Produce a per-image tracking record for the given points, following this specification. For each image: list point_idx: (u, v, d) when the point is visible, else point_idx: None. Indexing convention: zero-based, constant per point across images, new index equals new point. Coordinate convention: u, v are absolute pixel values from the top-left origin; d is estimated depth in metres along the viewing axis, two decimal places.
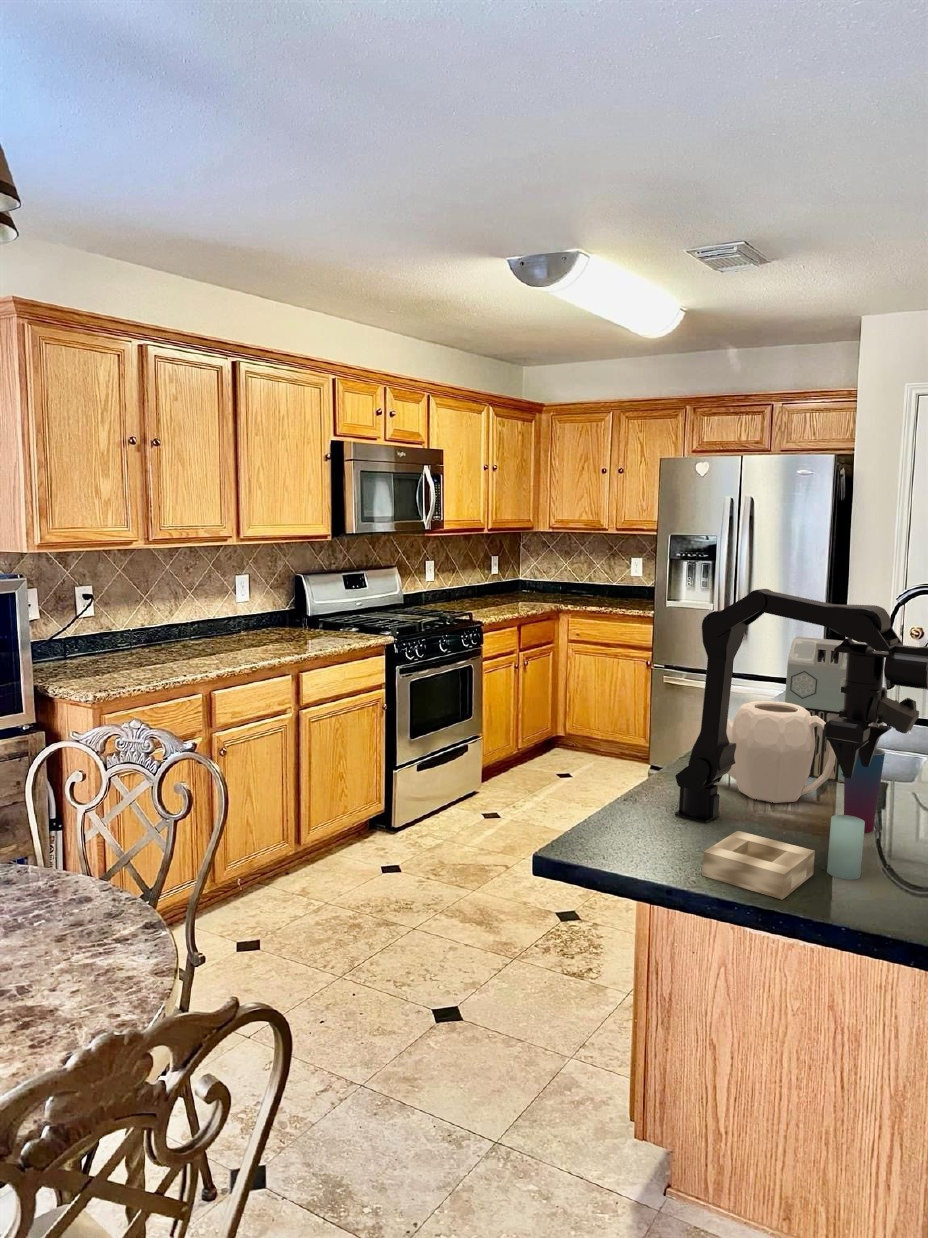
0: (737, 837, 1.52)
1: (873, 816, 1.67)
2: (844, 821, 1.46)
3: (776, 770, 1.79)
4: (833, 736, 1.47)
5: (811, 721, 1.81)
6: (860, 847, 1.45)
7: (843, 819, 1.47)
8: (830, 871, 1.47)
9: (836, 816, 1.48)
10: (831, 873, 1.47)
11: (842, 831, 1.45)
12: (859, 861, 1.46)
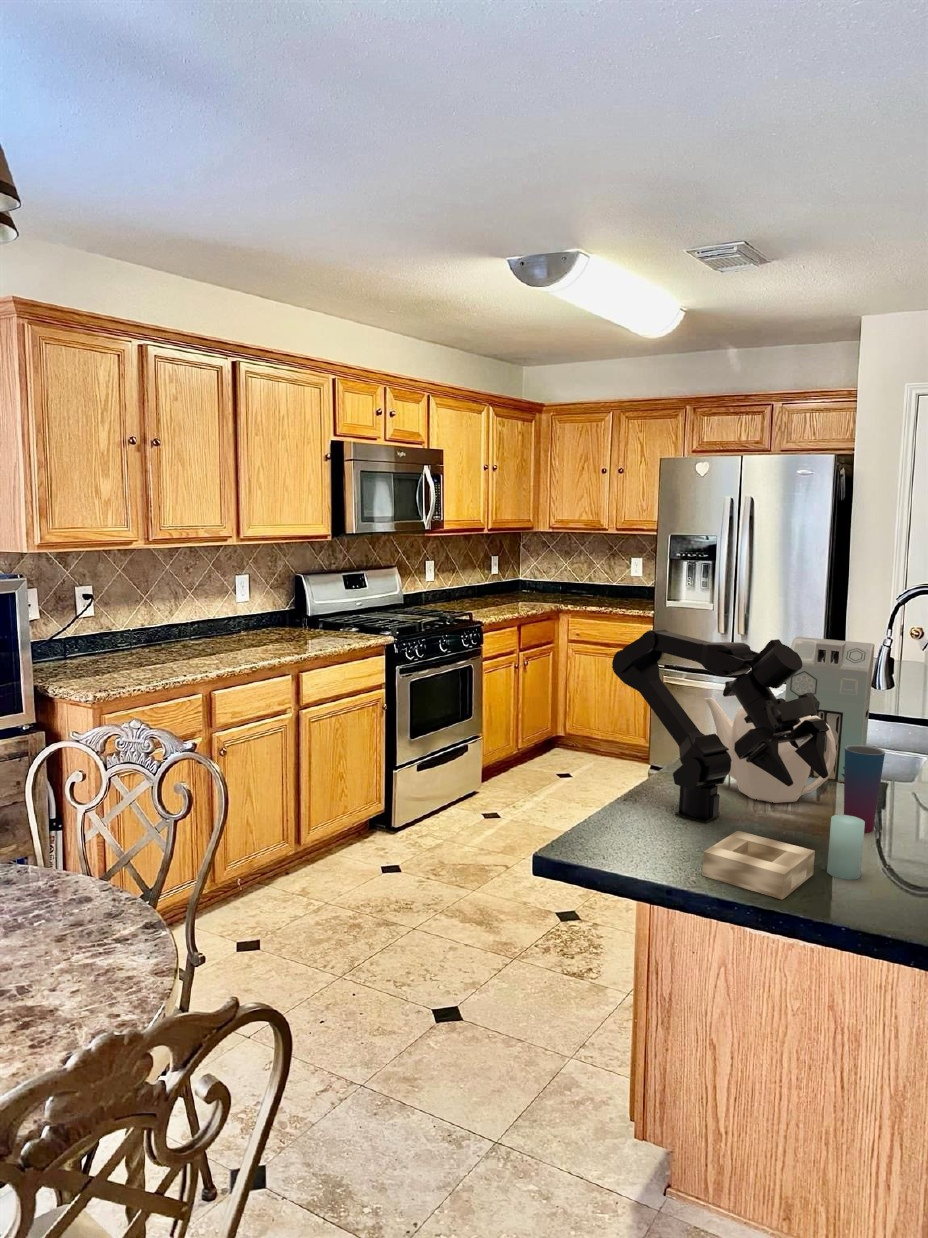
0: (737, 837, 1.52)
1: (873, 816, 1.67)
2: (844, 821, 1.46)
3: None
4: (743, 753, 1.52)
5: None
6: (860, 847, 1.45)
7: (843, 819, 1.47)
8: (830, 871, 1.47)
9: (836, 816, 1.48)
10: (831, 873, 1.47)
11: (842, 831, 1.45)
12: (859, 861, 1.46)
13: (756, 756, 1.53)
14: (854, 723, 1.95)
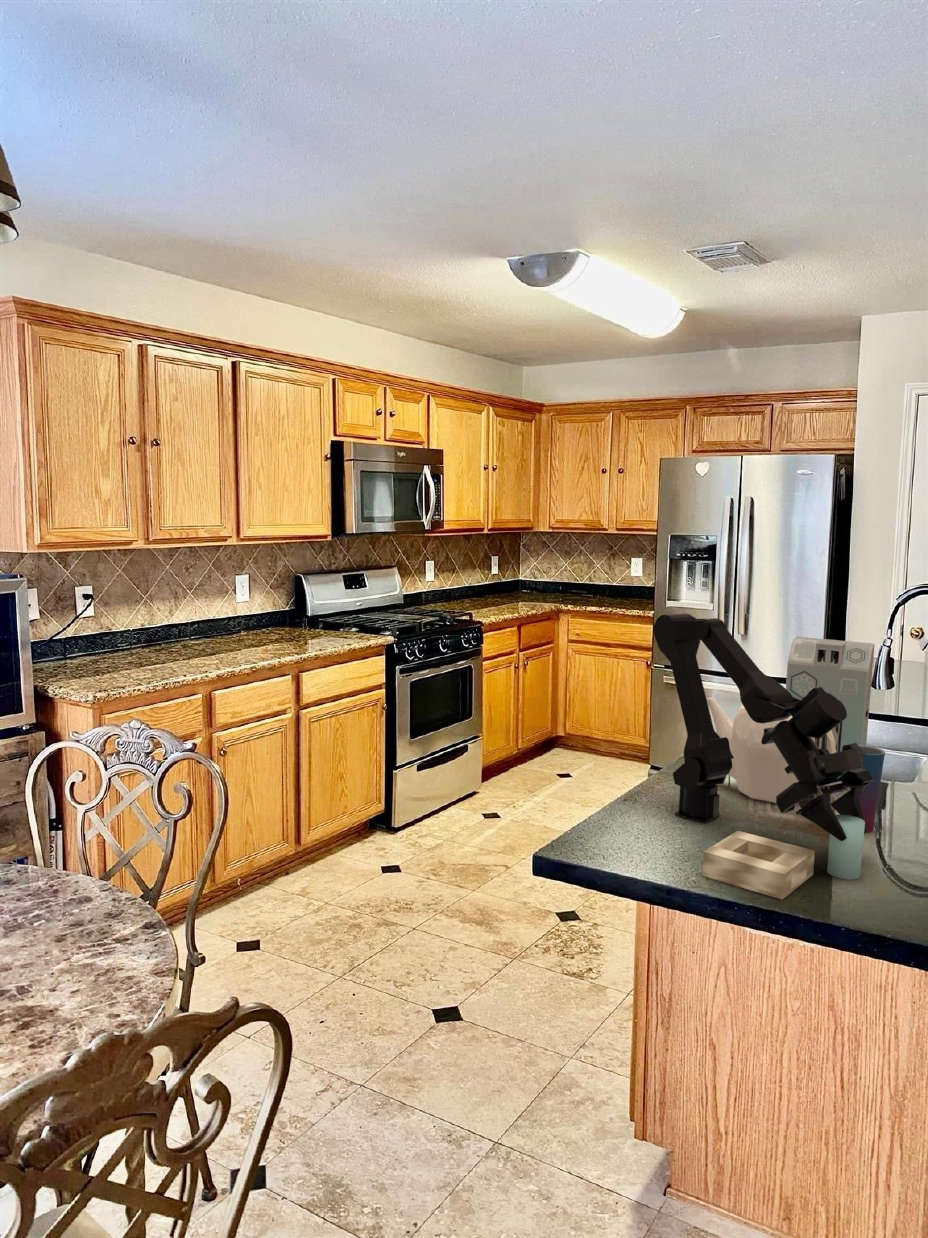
0: (737, 837, 1.52)
1: (873, 816, 1.67)
2: (844, 821, 1.46)
3: (776, 770, 1.79)
4: (785, 807, 1.46)
5: None
6: (860, 847, 1.45)
7: (844, 819, 1.47)
8: (830, 871, 1.47)
9: (836, 816, 1.48)
10: (831, 873, 1.47)
11: None
12: (860, 861, 1.46)
13: (807, 809, 1.47)
14: (854, 723, 1.95)
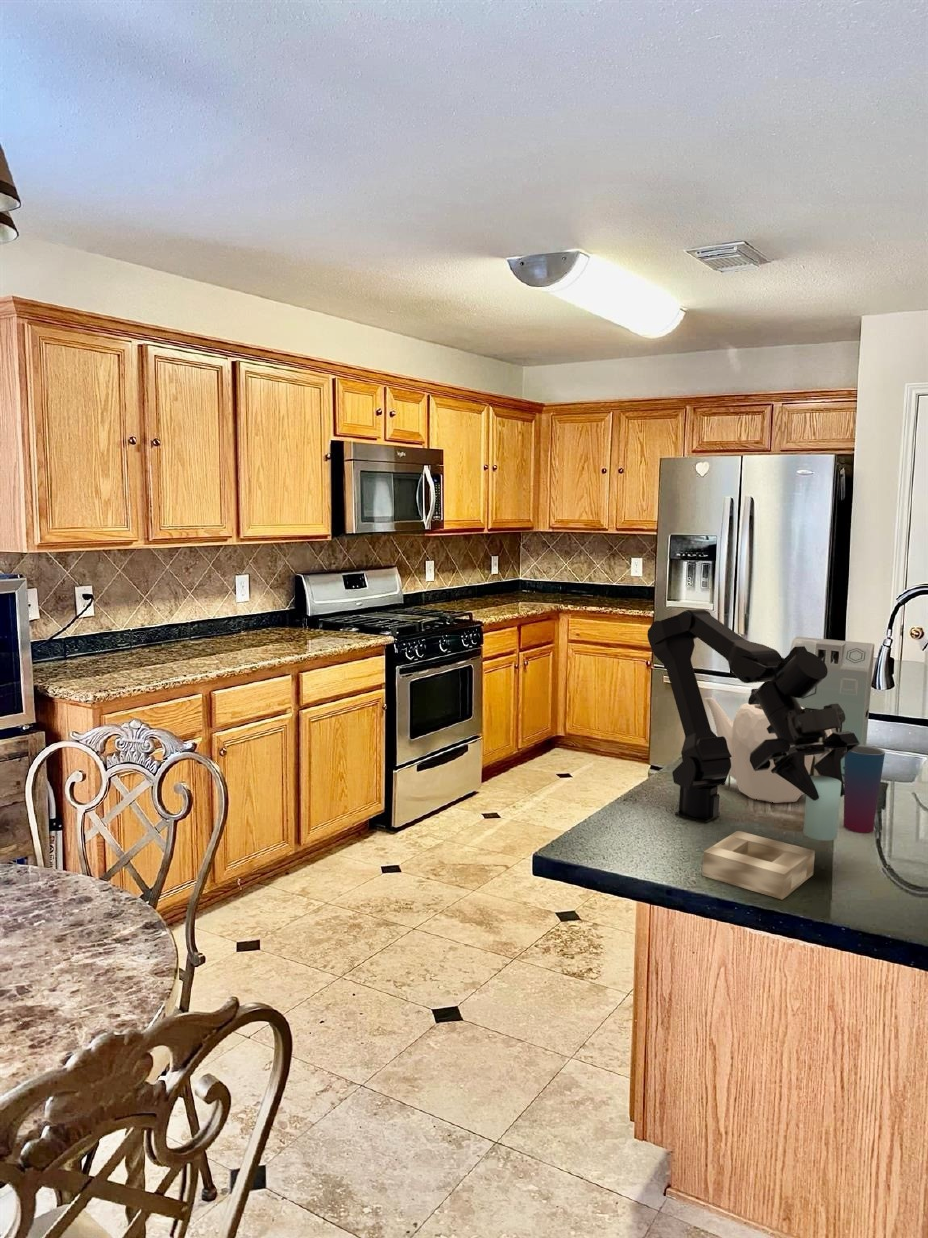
0: (737, 837, 1.52)
1: (873, 816, 1.67)
2: (820, 781, 1.44)
3: None
4: (757, 764, 1.45)
5: None
6: (834, 808, 1.43)
7: (820, 779, 1.45)
8: (805, 831, 1.46)
9: (814, 776, 1.46)
10: (805, 833, 1.45)
11: None
12: (834, 823, 1.43)
13: (781, 767, 1.46)
14: (854, 723, 1.95)
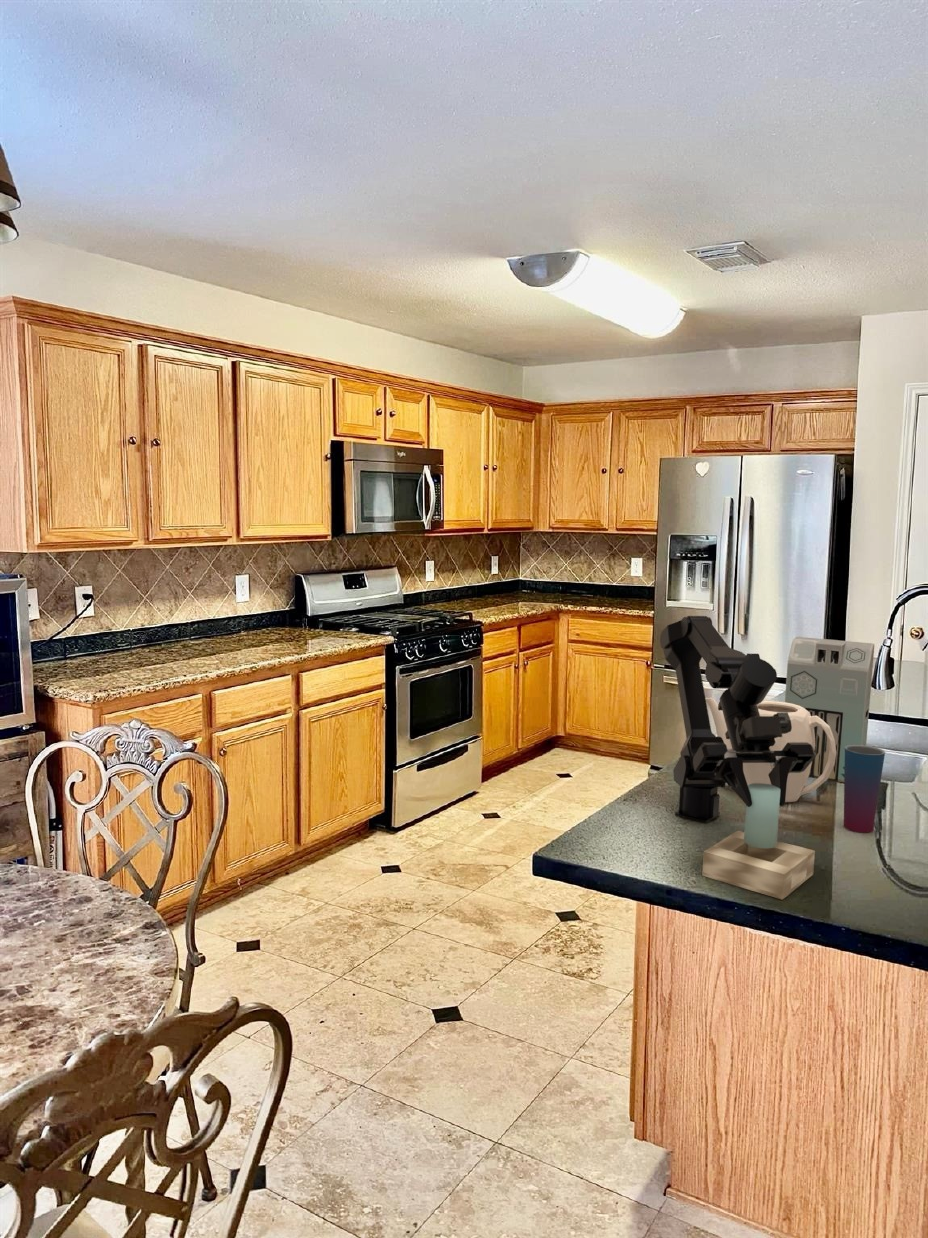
0: (737, 837, 1.52)
1: (873, 816, 1.67)
2: (758, 788, 1.45)
3: None
4: (696, 766, 1.48)
5: (811, 721, 1.81)
6: (769, 816, 1.43)
7: (760, 787, 1.45)
8: (744, 837, 1.46)
9: (757, 784, 1.47)
10: (744, 839, 1.46)
11: None
12: (769, 831, 1.43)
13: (722, 771, 1.48)
14: (854, 723, 1.95)
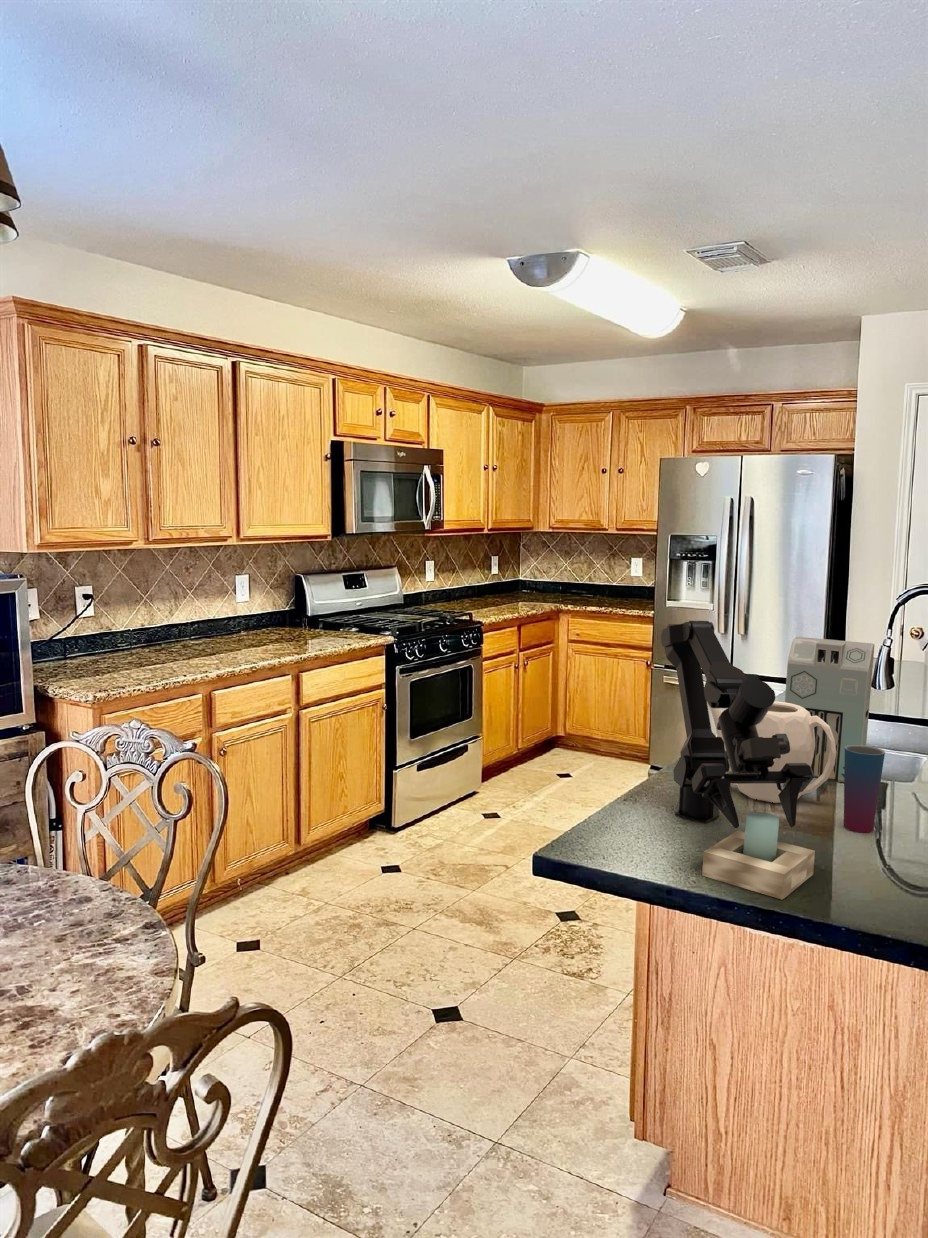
0: (737, 837, 1.52)
1: (873, 816, 1.67)
2: (757, 817, 1.45)
3: (776, 770, 1.79)
4: (695, 787, 1.49)
5: (811, 721, 1.81)
6: (767, 845, 1.43)
7: (759, 816, 1.46)
8: None
9: (756, 812, 1.47)
10: None
11: (749, 825, 1.44)
12: (768, 860, 1.44)
13: (710, 792, 1.48)
14: (854, 723, 1.95)
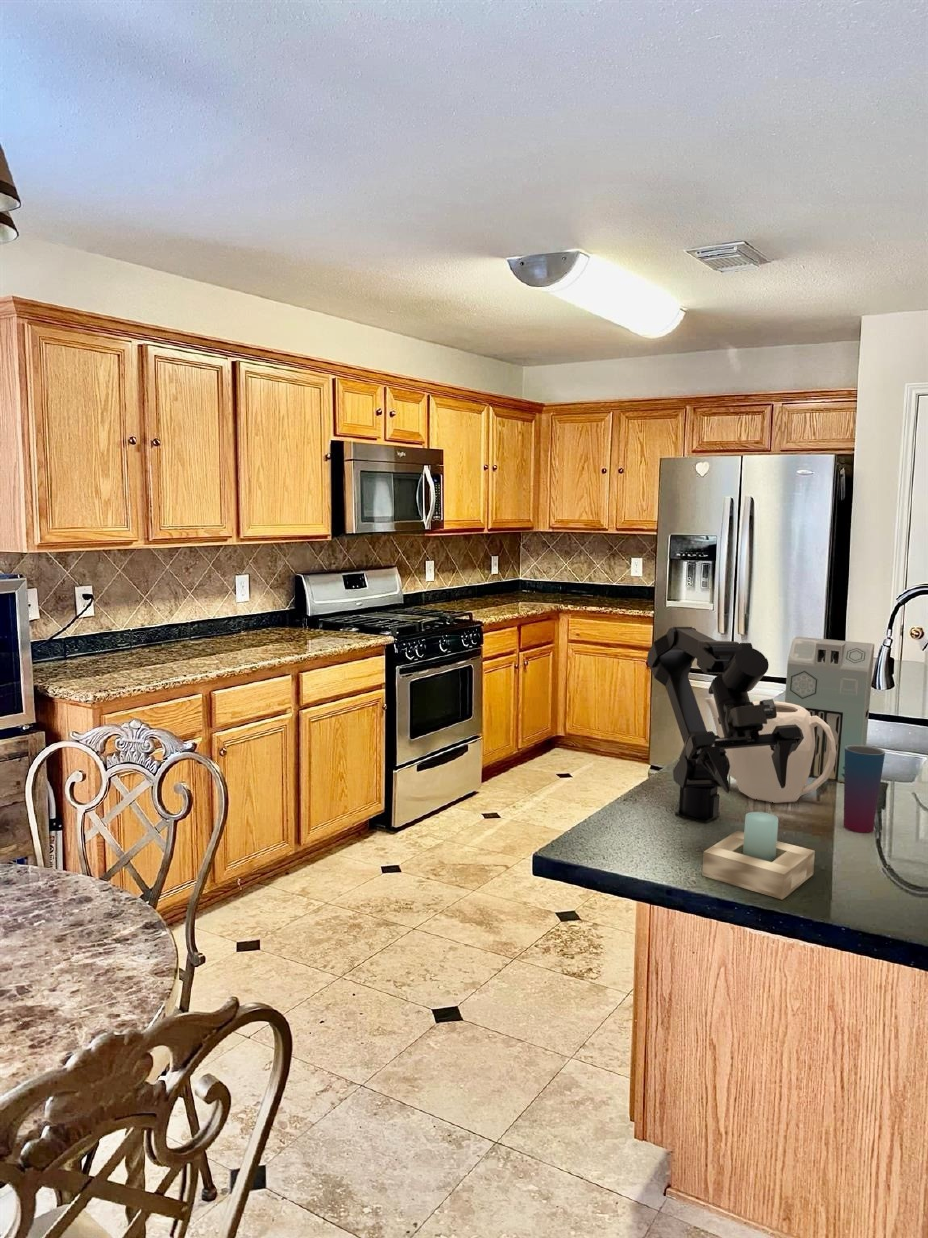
0: (737, 837, 1.52)
1: (873, 816, 1.67)
2: (756, 817, 1.45)
3: None
4: (688, 755, 1.55)
5: (811, 721, 1.81)
6: (767, 846, 1.43)
7: (758, 816, 1.46)
8: None
9: (755, 813, 1.47)
10: None
11: (748, 826, 1.44)
12: (768, 860, 1.44)
13: (702, 759, 1.54)
14: (854, 723, 1.95)
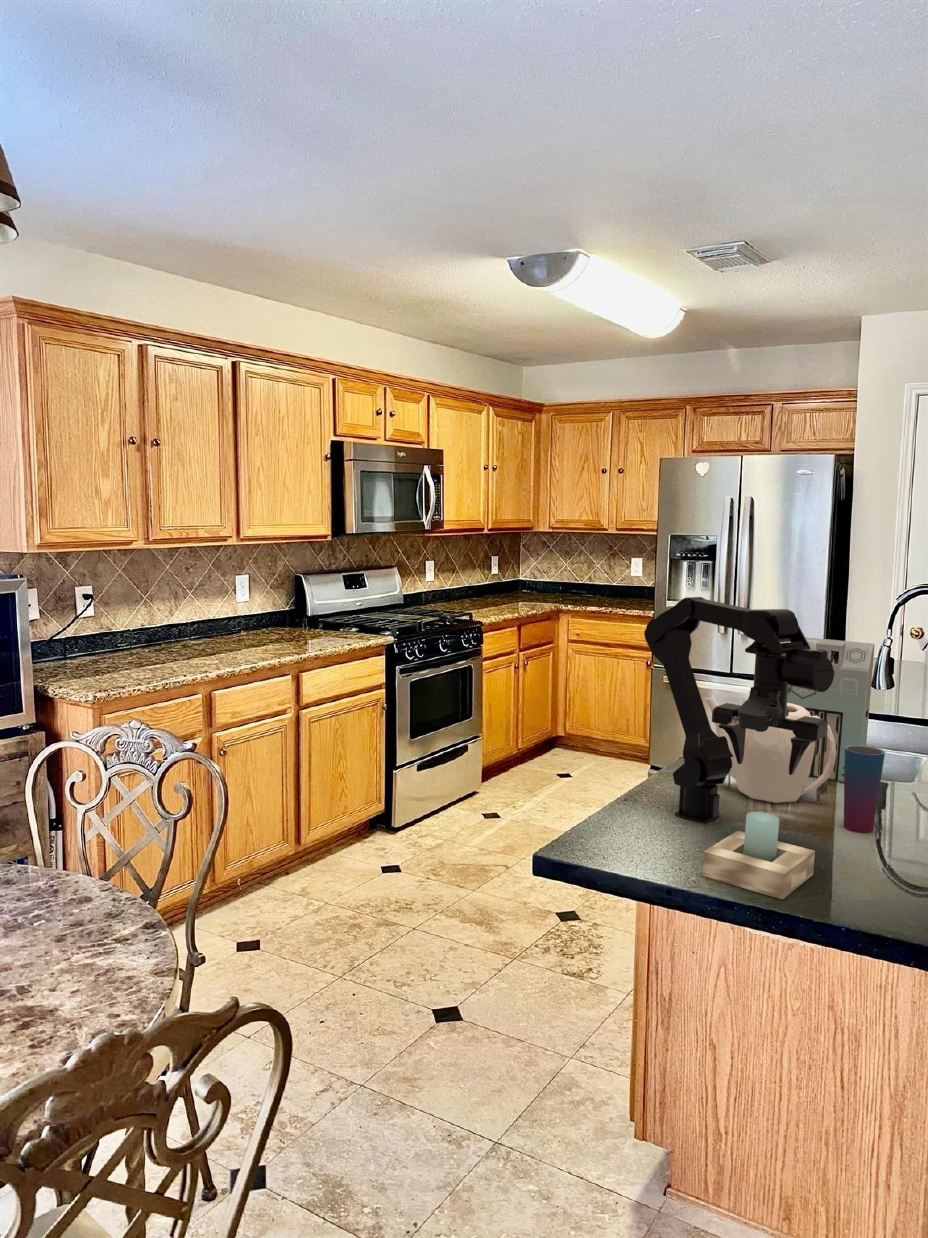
0: (737, 837, 1.52)
1: (873, 816, 1.67)
2: (757, 817, 1.45)
3: (776, 770, 1.79)
4: None
5: None
6: (768, 846, 1.43)
7: (759, 816, 1.46)
8: None
9: (756, 812, 1.47)
10: None
11: (749, 826, 1.44)
12: (768, 860, 1.44)
13: None
14: (854, 723, 1.95)
